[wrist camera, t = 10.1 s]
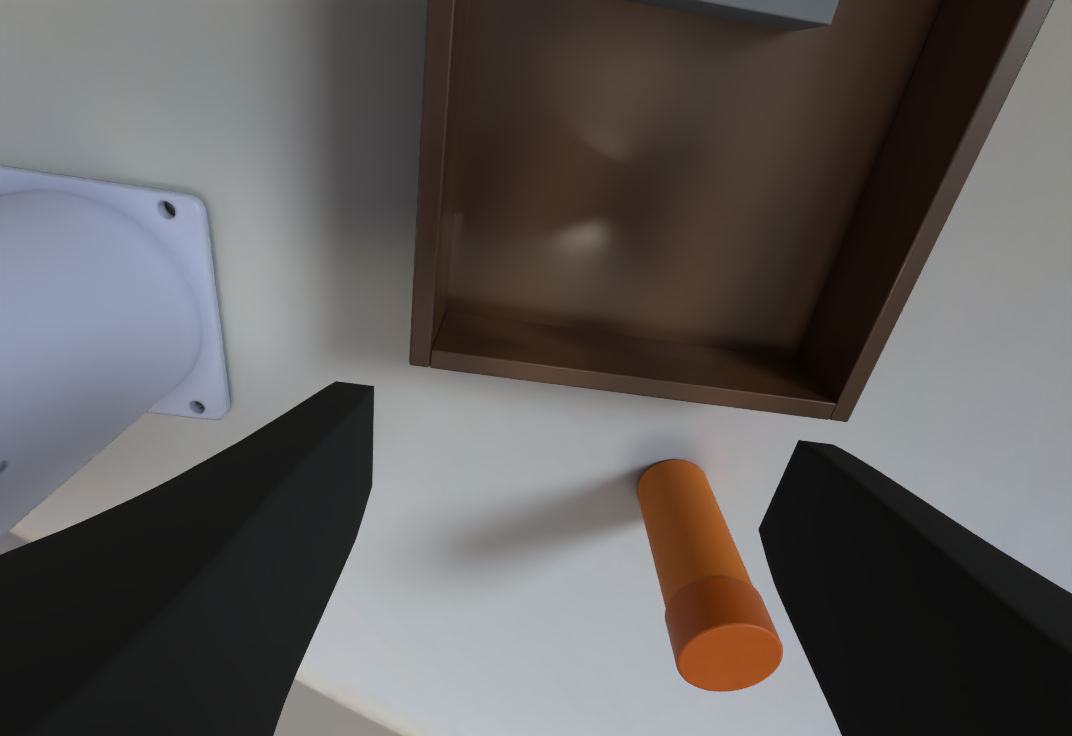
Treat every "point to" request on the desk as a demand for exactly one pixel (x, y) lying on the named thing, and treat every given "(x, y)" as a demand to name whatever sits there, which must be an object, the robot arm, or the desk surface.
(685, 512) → the glue stick
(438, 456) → the desk surface
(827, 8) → the eraser
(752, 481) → the desk surface
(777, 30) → the box
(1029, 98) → the desk surface
